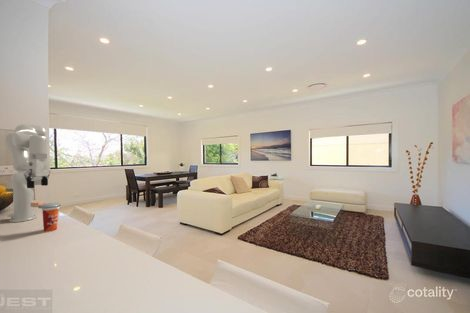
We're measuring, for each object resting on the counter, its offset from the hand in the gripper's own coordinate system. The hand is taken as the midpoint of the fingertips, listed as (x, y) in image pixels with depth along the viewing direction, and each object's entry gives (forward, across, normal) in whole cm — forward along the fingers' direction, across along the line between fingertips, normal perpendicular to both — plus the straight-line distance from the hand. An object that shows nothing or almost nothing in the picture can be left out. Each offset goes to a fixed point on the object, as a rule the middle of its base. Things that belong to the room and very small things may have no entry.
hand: (37, 186), depth 118 cm
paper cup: (+26, +1, -6) cm, 26 cm away
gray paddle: (+11, 0, -4) cm, 12 cm away
